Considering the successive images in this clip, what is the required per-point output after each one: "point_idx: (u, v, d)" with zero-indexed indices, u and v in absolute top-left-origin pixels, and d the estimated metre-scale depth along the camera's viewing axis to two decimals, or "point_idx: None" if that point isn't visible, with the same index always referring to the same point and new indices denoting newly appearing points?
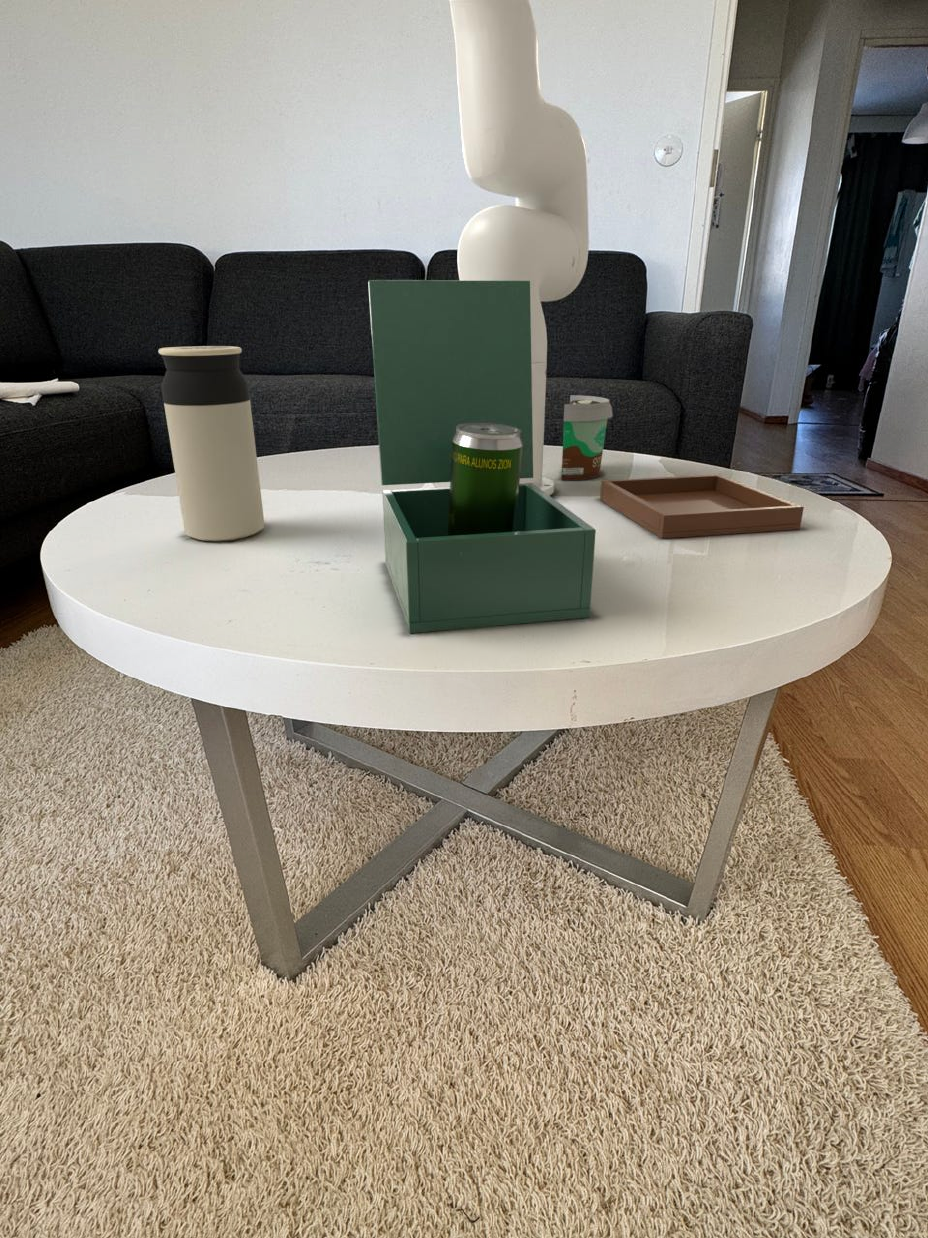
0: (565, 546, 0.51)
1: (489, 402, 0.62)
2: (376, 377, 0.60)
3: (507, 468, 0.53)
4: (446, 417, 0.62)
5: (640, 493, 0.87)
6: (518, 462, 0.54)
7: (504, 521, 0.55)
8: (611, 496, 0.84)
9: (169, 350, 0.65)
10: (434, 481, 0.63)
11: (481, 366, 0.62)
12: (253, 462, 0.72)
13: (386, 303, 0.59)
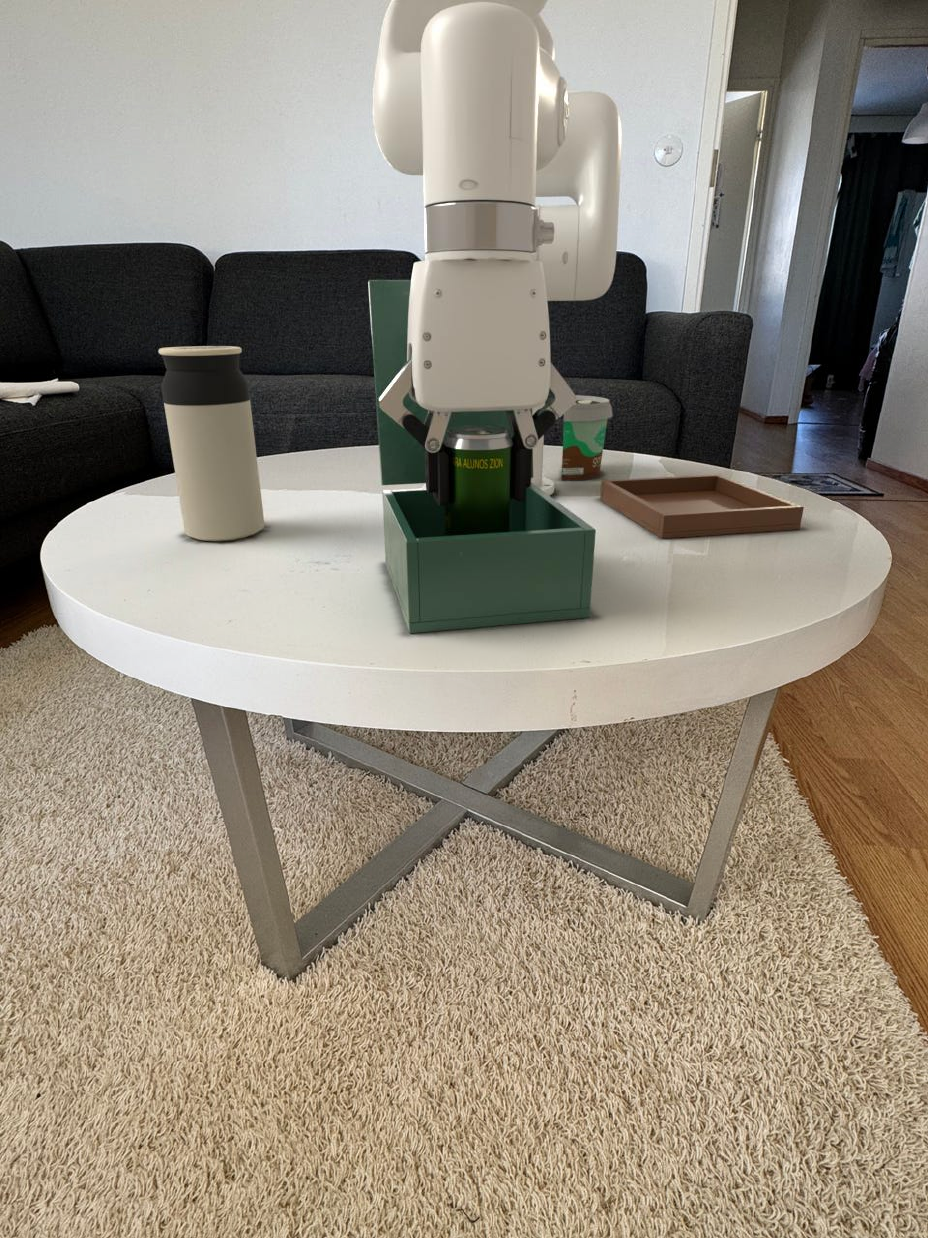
0: (565, 546, 0.51)
1: None
2: (376, 377, 0.60)
3: (499, 467, 0.53)
4: None
5: (640, 493, 0.87)
6: (510, 461, 0.54)
7: (499, 520, 0.55)
8: (611, 496, 0.84)
9: (169, 350, 0.65)
10: None
11: None
12: (253, 462, 0.72)
13: (386, 303, 0.59)
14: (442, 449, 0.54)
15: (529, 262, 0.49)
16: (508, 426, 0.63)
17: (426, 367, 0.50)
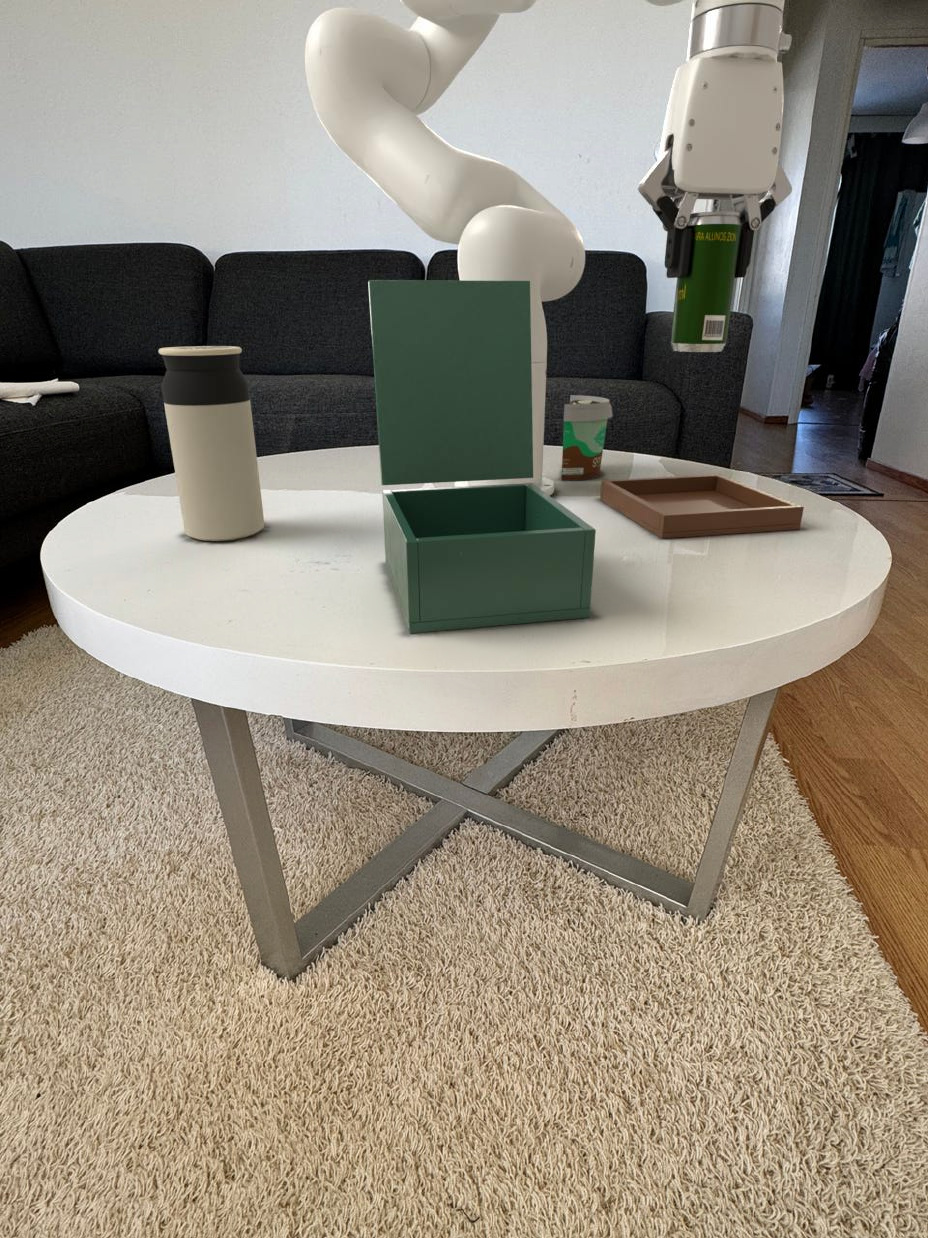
0: (565, 546, 0.51)
1: (489, 402, 0.62)
2: (376, 377, 0.60)
3: (733, 241, 0.67)
4: (446, 417, 0.62)
5: (640, 493, 0.87)
6: (739, 238, 0.67)
7: (727, 289, 0.68)
8: (611, 496, 0.84)
9: (169, 350, 0.65)
10: (434, 481, 0.63)
11: (481, 366, 0.62)
12: (253, 462, 0.72)
13: (386, 303, 0.59)
14: (686, 227, 0.67)
15: (775, 62, 0.62)
16: (508, 426, 0.63)
17: (687, 150, 0.63)
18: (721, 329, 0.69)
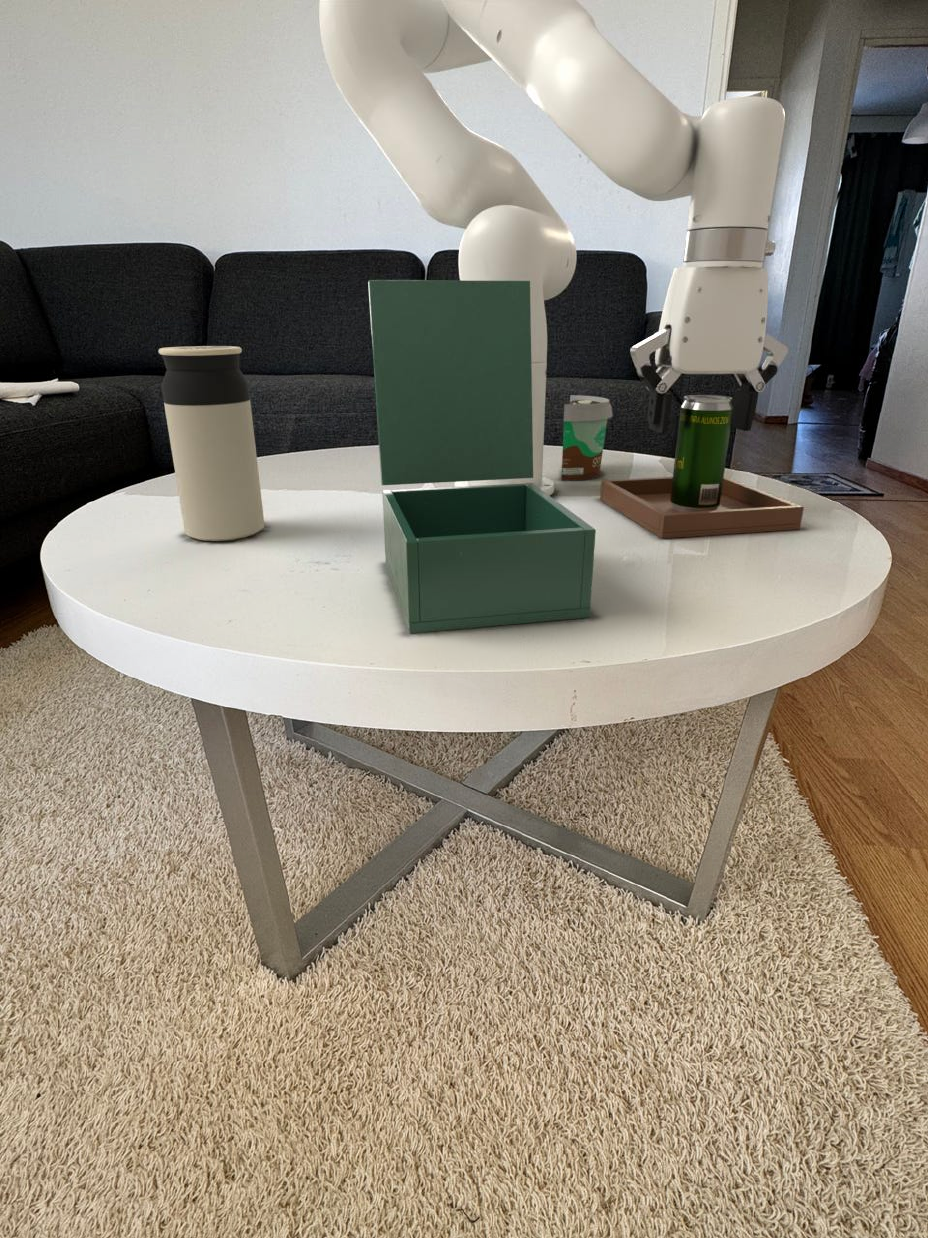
0: (565, 546, 0.51)
1: (489, 402, 0.62)
2: (376, 377, 0.60)
3: (725, 423, 0.75)
4: (446, 417, 0.62)
5: (640, 493, 0.87)
6: (731, 419, 0.76)
7: (721, 462, 0.77)
8: (611, 496, 0.84)
9: (169, 350, 0.65)
10: (434, 481, 0.63)
11: (481, 366, 0.62)
12: (253, 462, 0.72)
13: (386, 303, 0.59)
14: (666, 391, 0.74)
15: (761, 269, 0.70)
16: (508, 426, 0.63)
17: (683, 341, 0.72)
18: (716, 495, 0.78)
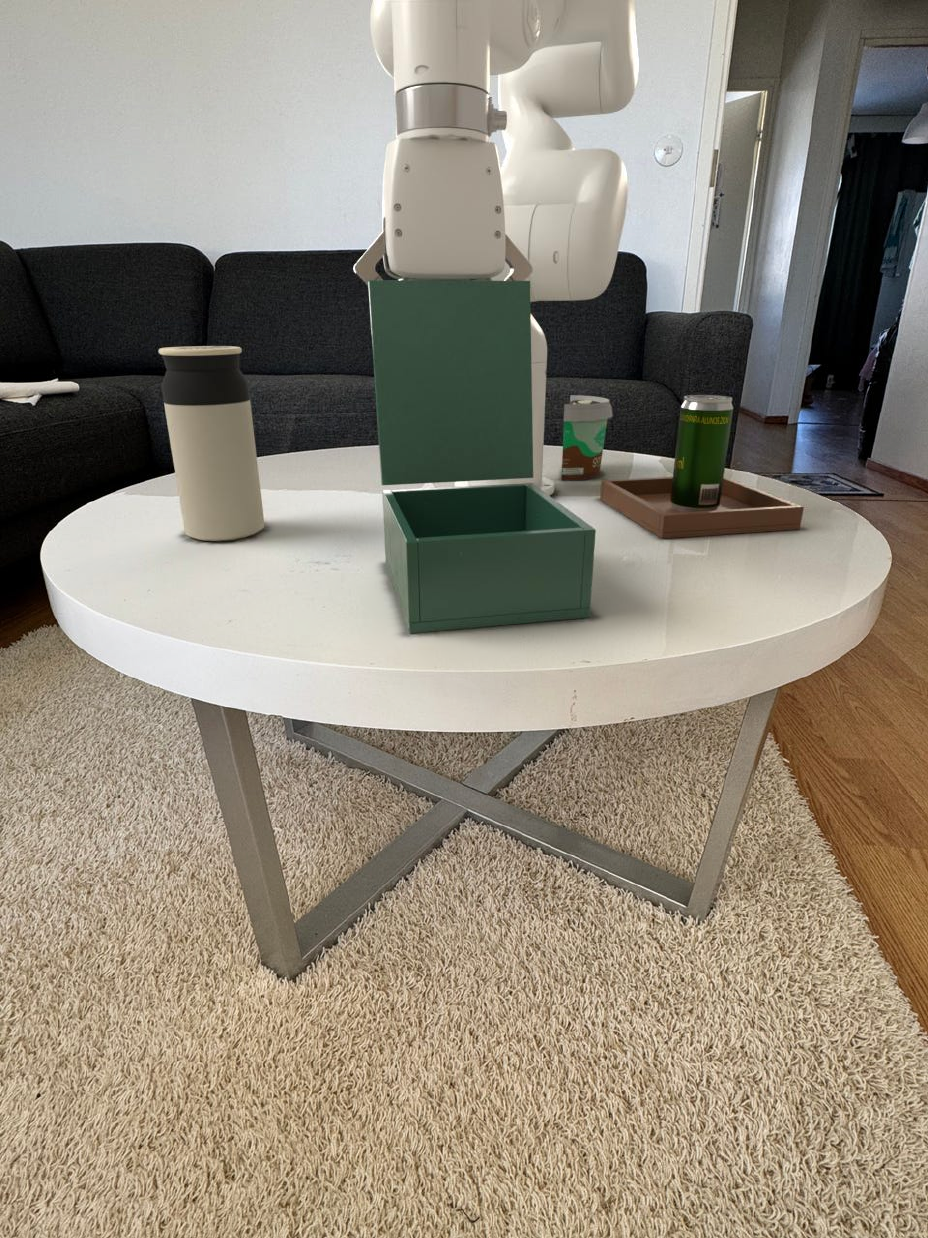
0: (565, 546, 0.51)
1: (489, 402, 0.62)
2: (376, 377, 0.60)
3: (725, 423, 0.75)
4: (446, 417, 0.62)
5: (640, 493, 0.87)
6: (731, 419, 0.76)
7: (721, 462, 0.77)
8: (611, 496, 0.84)
9: (169, 350, 0.65)
10: (434, 481, 0.63)
11: (481, 366, 0.62)
12: (253, 462, 0.72)
13: (386, 303, 0.59)
14: None
15: (484, 142, 0.57)
16: (508, 426, 0.63)
17: (397, 235, 0.58)
18: (716, 495, 0.78)
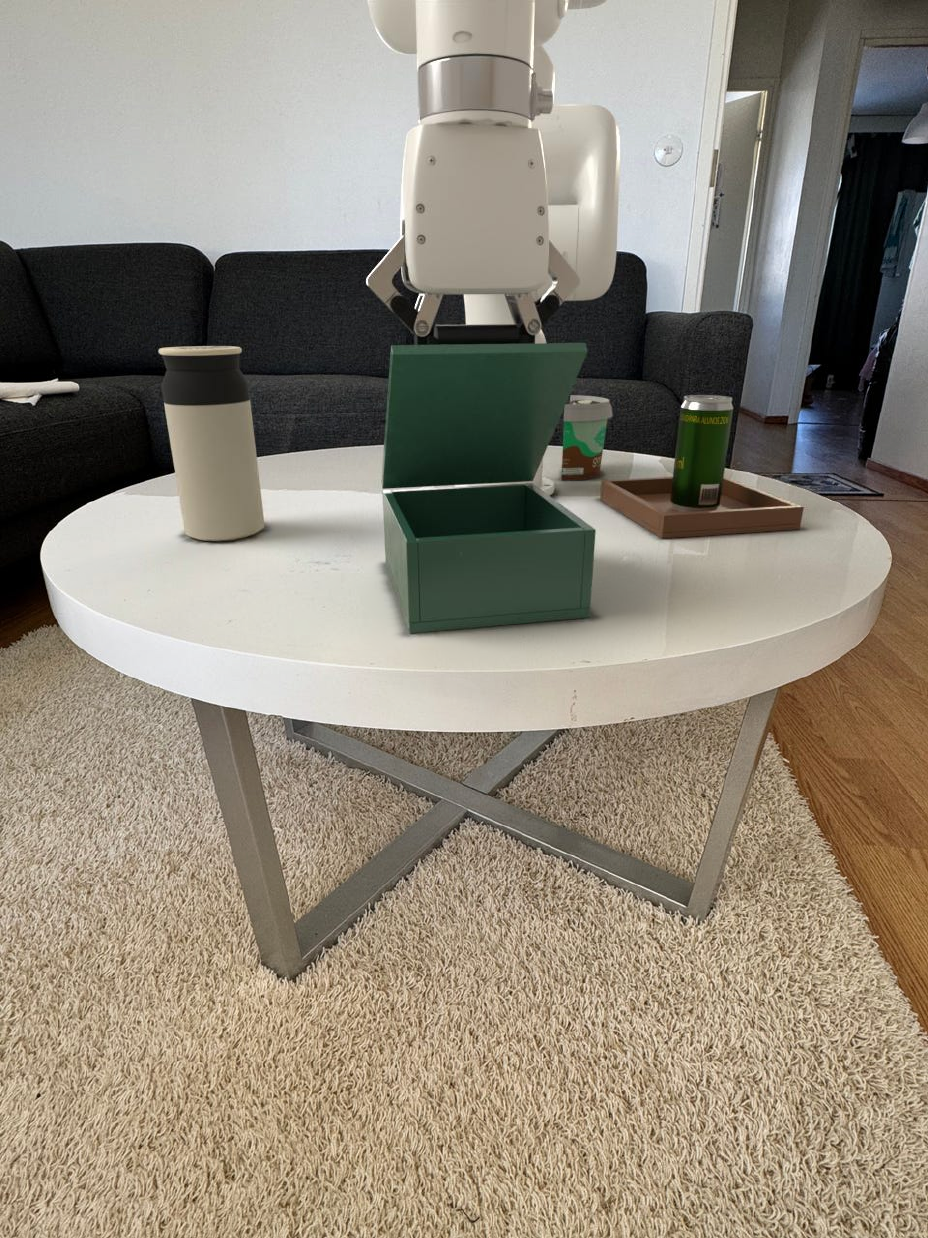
0: (565, 546, 0.51)
1: (506, 438, 0.58)
2: (388, 425, 0.54)
3: (725, 423, 0.75)
4: (457, 449, 0.58)
5: (640, 493, 0.87)
6: (731, 419, 0.76)
7: (721, 462, 0.77)
8: (611, 496, 0.84)
9: (169, 350, 0.65)
10: (434, 485, 0.63)
11: (506, 415, 0.55)
12: (253, 462, 0.72)
13: (410, 373, 0.49)
14: (432, 334, 0.52)
15: (527, 129, 0.47)
16: (520, 453, 0.60)
17: (420, 242, 0.48)
18: (716, 495, 0.78)
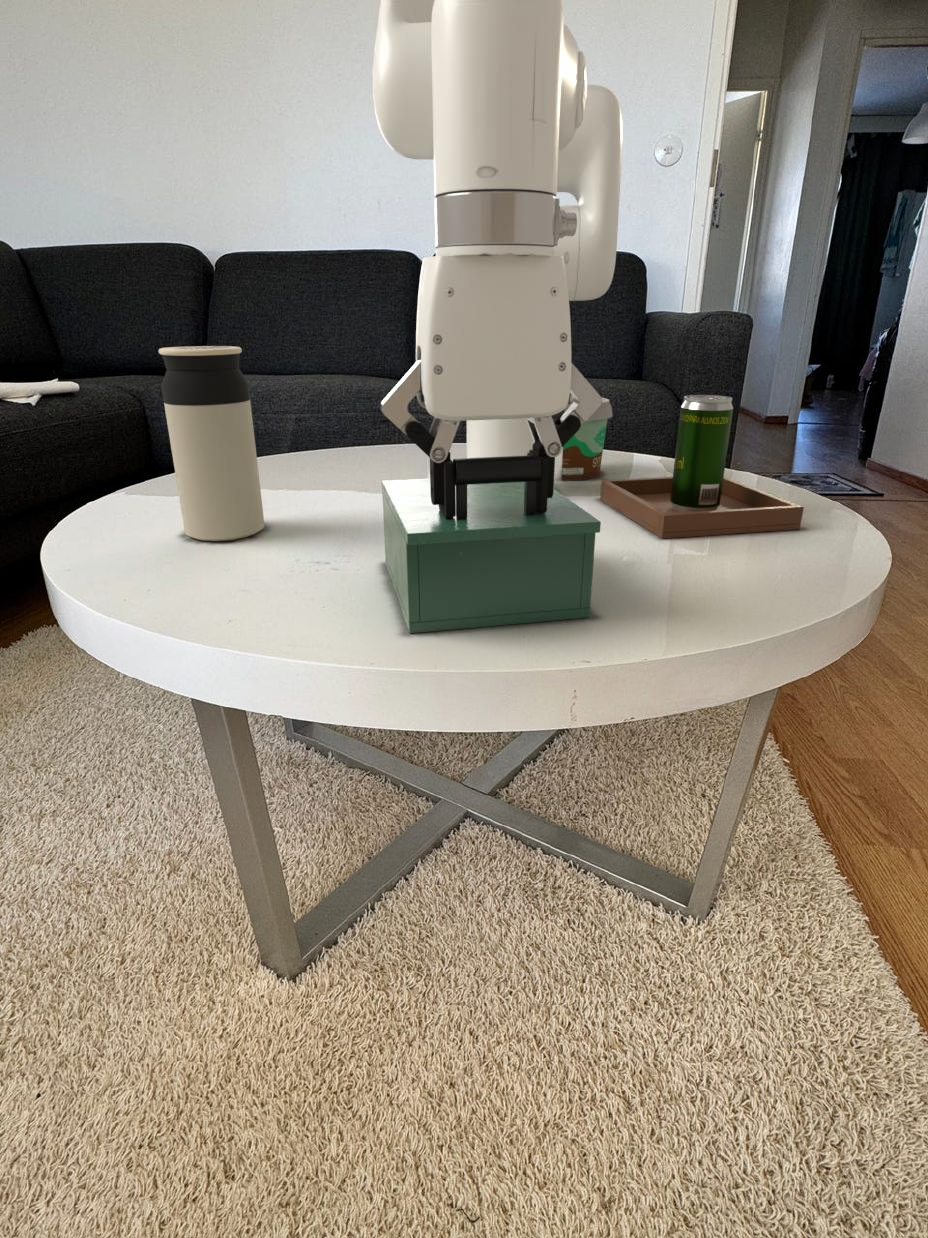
0: (565, 546, 0.51)
1: None
2: (395, 516, 0.55)
3: (725, 423, 0.75)
4: None
5: (640, 493, 0.87)
6: (731, 419, 0.76)
7: (721, 462, 0.77)
8: (611, 496, 0.84)
9: (169, 350, 0.65)
10: None
11: None
12: (253, 462, 0.72)
13: None
14: (448, 458, 0.50)
15: (549, 257, 0.44)
16: None
17: (436, 373, 0.46)
18: (716, 495, 0.78)
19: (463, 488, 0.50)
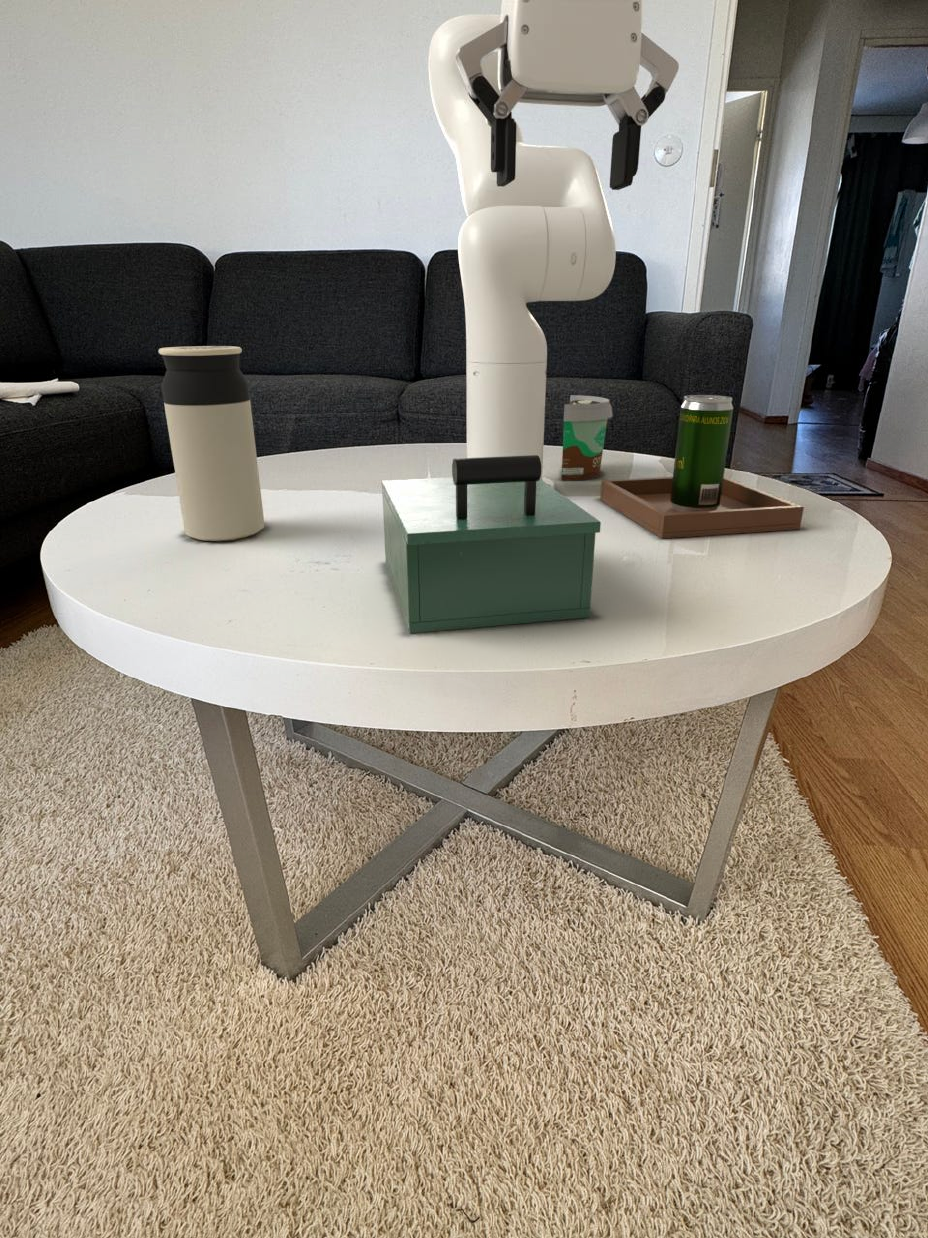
0: (565, 546, 0.51)
1: None
2: (395, 516, 0.55)
3: (725, 423, 0.75)
4: None
5: (640, 493, 0.87)
6: (731, 419, 0.76)
7: (721, 462, 0.77)
8: (611, 496, 0.84)
9: (169, 350, 0.65)
10: None
11: None
12: (253, 462, 0.72)
13: None
14: None
15: None
16: None
17: (523, 33, 0.51)
18: (716, 495, 0.78)
19: (463, 488, 0.50)
